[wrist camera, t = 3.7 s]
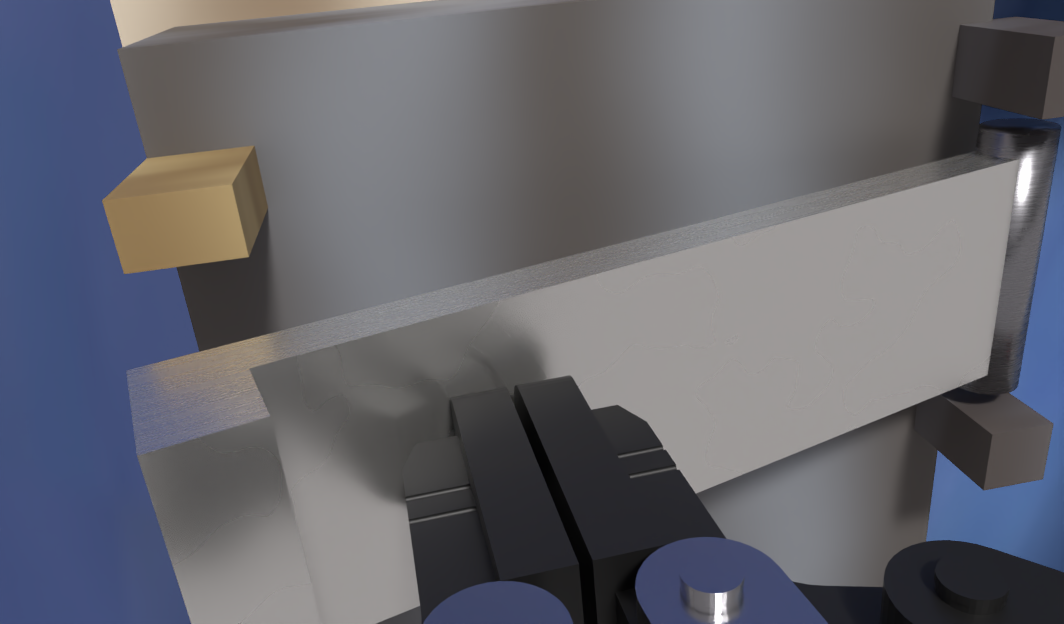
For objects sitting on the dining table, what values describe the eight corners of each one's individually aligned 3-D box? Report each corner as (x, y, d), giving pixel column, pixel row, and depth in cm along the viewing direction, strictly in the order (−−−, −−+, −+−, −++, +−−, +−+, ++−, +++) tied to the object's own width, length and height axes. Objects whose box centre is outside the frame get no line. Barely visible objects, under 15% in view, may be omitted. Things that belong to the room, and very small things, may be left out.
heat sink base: (874, -199, 18) (1232, -304, 11) (812, 725, 30) (964, 991, 22) (102, -139, 16) (-129, -217, 9) (350, 827, 28) (344, 1160, 20)
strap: (1011, 115, 15) (1141, 134, 13) (976, 358, 17) (1085, 404, 15) (115, 331, 9) (124, 417, 8) (216, 656, 11) (243, 787, 10)
